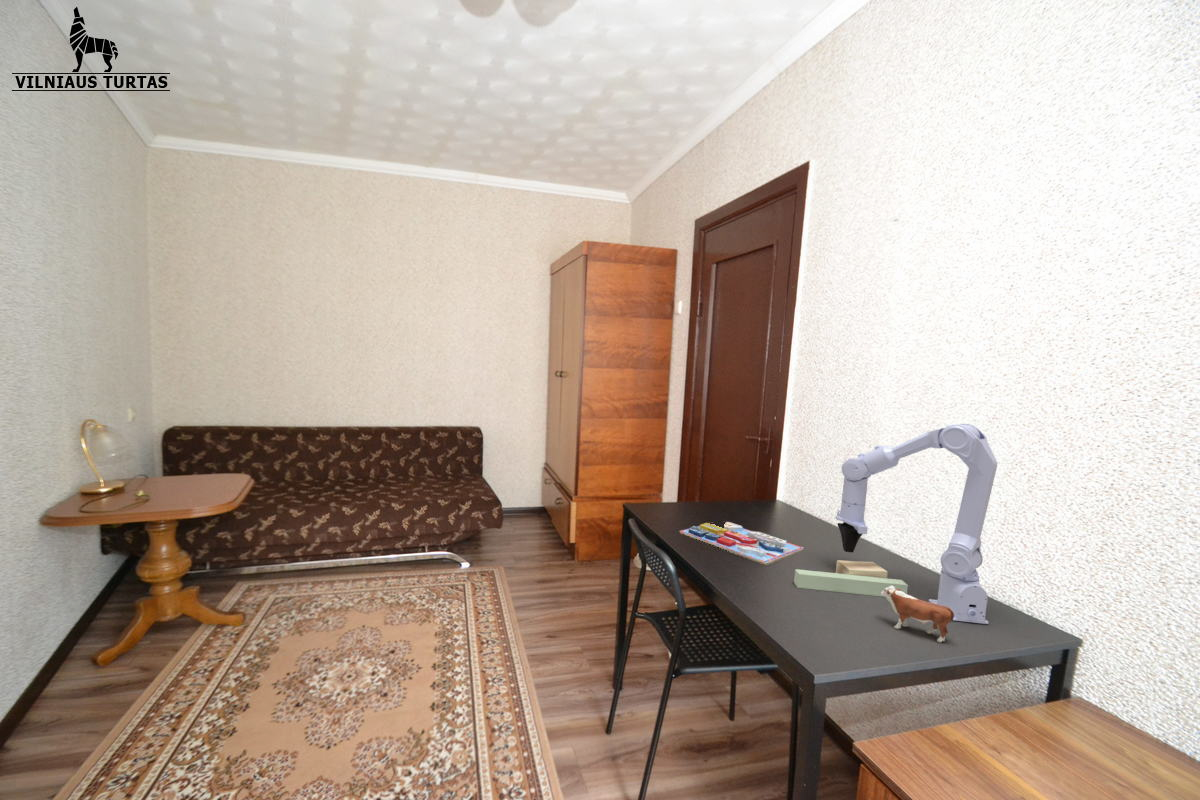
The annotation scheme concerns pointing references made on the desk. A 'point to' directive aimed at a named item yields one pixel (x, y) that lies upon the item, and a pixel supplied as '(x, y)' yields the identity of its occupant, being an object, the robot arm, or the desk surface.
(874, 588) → the pale green block
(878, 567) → the beech block
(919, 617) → the bull figurine
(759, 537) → the puzzle board
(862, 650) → the desk surface
